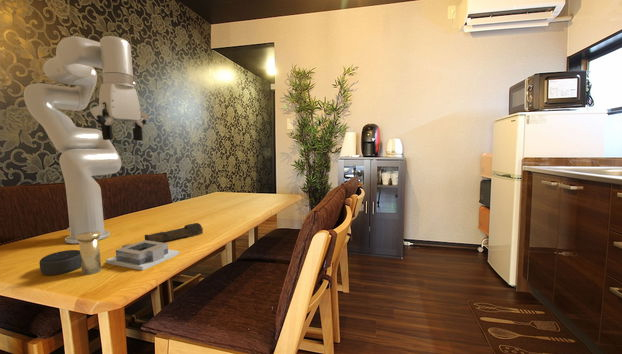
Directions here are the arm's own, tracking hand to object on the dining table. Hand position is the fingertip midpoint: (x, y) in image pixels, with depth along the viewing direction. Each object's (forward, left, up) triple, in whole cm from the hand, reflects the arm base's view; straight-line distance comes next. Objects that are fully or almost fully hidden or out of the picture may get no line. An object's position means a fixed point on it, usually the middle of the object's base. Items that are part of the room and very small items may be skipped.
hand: (124, 140), depth 87 cm
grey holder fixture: (+10, -5, -33) cm, 35 cm away
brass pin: (+5, -15, -34) cm, 38 cm away
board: (+10, -4, -34) cm, 36 cm away
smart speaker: (-4, -17, -35) cm, 39 cm away
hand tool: (+5, +13, -35) cm, 37 cm away
